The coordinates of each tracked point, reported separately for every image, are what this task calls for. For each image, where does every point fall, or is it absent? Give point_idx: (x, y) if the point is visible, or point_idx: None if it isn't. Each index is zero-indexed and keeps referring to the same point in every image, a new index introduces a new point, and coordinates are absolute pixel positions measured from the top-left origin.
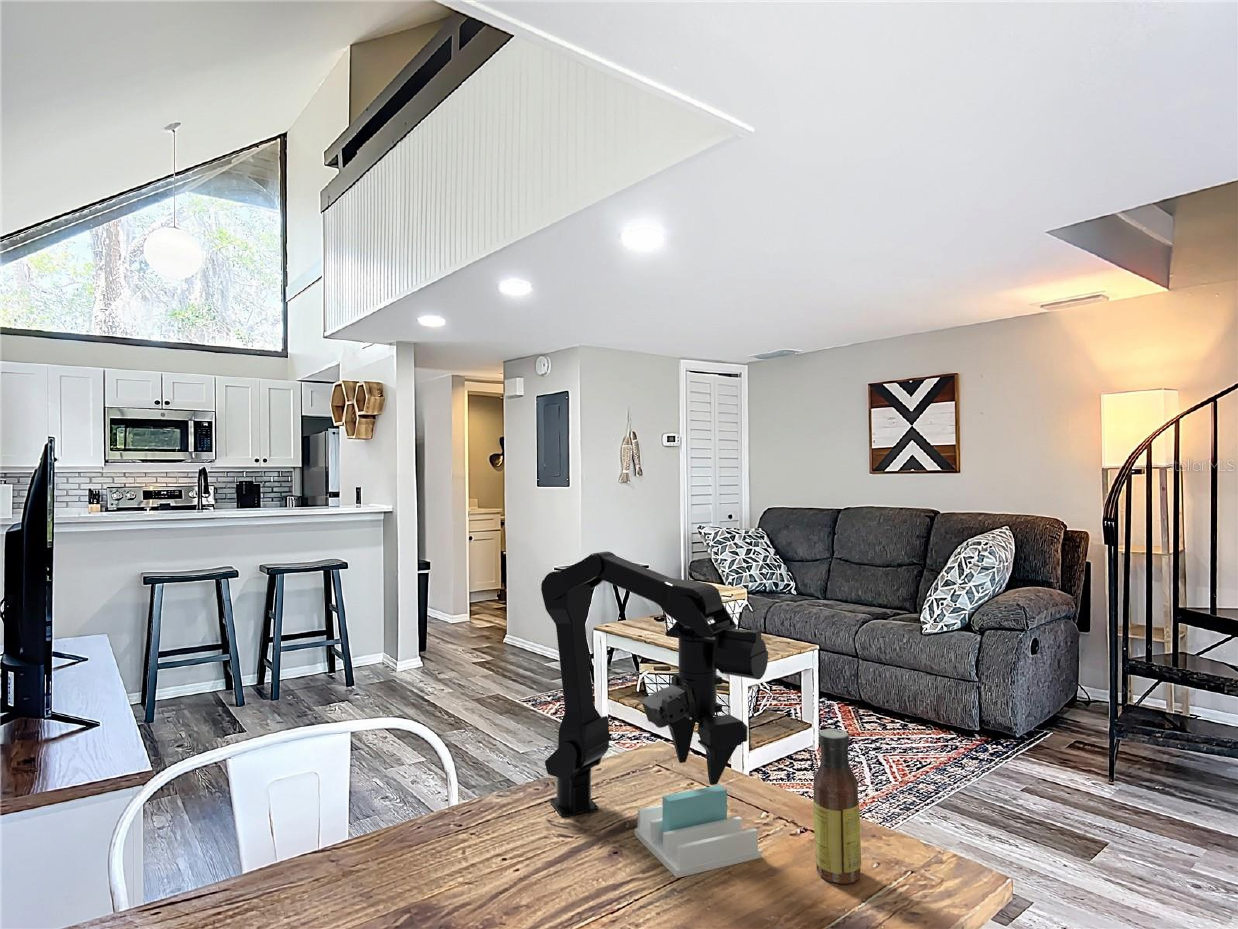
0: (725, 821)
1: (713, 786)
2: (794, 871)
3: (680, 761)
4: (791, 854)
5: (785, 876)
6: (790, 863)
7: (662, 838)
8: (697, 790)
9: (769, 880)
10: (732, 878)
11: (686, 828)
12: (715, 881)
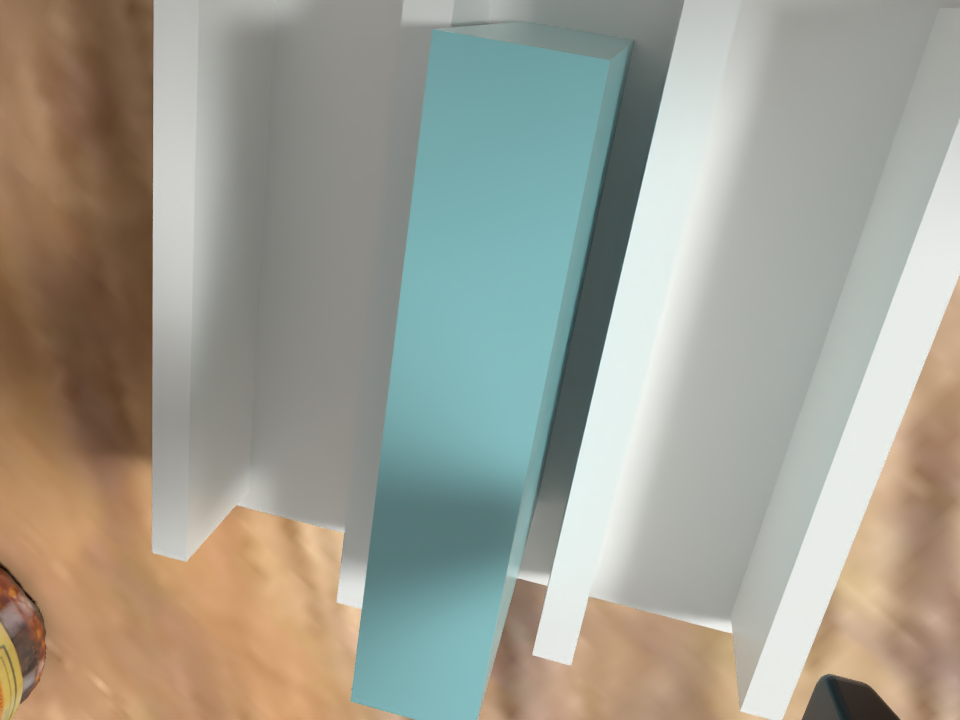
0: (355, 490)
1: (478, 673)
2: (62, 501)
3: (823, 690)
4: (197, 612)
5: (39, 434)
6: (129, 544)
7: (631, 40)
8: (491, 499)
9: (35, 344)
10: (122, 196)
11: (415, 166)
12: (132, 84)
